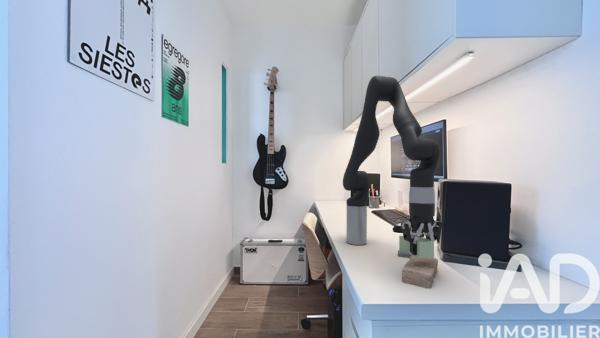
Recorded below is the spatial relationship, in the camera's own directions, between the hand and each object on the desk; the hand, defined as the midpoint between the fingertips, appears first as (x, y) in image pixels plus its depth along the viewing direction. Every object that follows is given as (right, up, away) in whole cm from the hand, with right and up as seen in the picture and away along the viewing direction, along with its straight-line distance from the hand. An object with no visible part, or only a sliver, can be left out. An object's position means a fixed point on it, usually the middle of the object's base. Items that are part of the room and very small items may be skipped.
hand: (421, 253), depth 85 cm
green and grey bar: (+4, -7, +19) cm, 21 cm away
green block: (0, 0, 0) cm, 0 cm away
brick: (0, -8, 0) cm, 8 cm away
